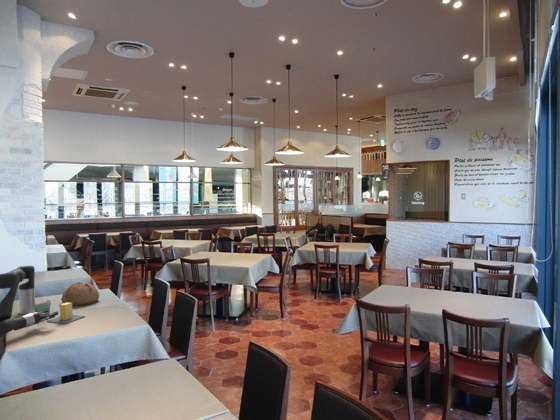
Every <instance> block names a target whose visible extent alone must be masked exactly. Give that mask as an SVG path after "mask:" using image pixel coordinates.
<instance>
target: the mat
mask: <svg viewBox="0 0 560 420" xmlns="http://www.w3.org/2000/svg"><path fill="white" fill-rule="evenodd" d="M85 317H86V315H78V314H72V318H70V319H67V320H60V316H58V317H54V318H51V319H48V320H46V323H50V322H52V323H51V324H59V323H61V325H68V324H70V323H72V322H76V321H77V320H78V321H79V320H81V319H84V318H85Z"/></svg>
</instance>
